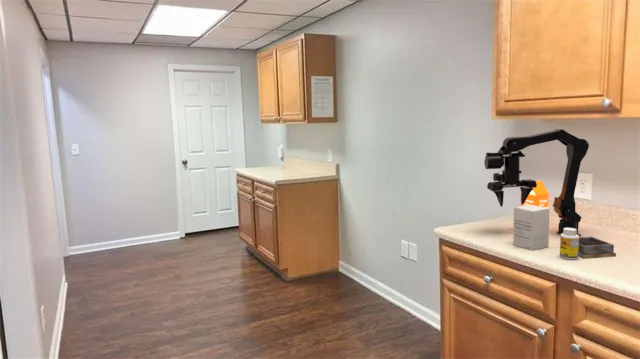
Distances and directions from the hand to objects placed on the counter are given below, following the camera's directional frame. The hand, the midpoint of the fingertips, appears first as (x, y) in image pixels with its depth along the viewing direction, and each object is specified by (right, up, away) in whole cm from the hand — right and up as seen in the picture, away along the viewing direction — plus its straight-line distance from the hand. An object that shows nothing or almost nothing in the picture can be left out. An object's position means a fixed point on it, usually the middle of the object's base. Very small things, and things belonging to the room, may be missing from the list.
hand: (511, 205), depth 183 cm
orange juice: (+17, -10, +16) cm, 26 cm away
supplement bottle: (+7, -17, -30) cm, 35 cm away
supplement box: (+1, -15, -15) cm, 21 cm away
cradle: (+16, -15, -25) cm, 33 cm away
